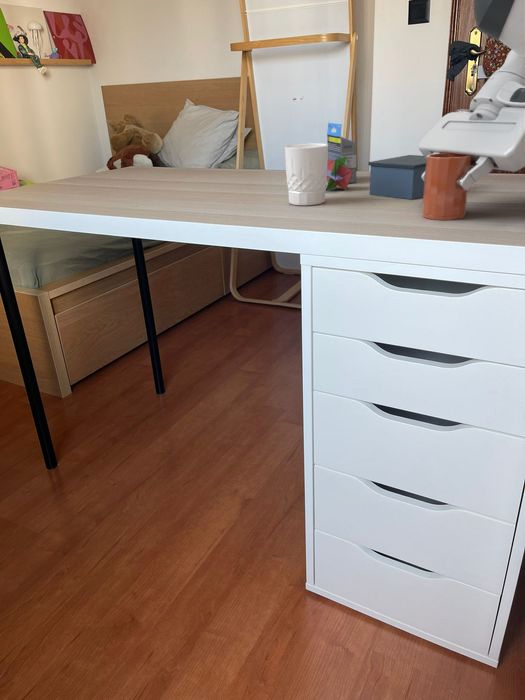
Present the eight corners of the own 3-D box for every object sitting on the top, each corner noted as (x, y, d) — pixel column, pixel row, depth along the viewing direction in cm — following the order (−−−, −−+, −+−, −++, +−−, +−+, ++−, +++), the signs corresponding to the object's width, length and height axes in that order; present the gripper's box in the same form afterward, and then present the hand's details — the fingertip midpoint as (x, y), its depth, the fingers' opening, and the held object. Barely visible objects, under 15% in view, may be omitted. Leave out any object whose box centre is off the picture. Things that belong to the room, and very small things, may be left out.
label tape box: (357, 183, 116) (358, 122, 111) (339, 184, 115) (340, 123, 110) (342, 177, 124) (343, 121, 118) (326, 179, 123) (326, 122, 118)
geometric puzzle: (367, 177, 108) (347, 144, 108) (349, 182, 103) (329, 147, 103) (342, 197, 113) (323, 165, 113) (325, 203, 108) (305, 169, 108)
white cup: (335, 203, 97) (336, 145, 92) (296, 208, 94) (295, 148, 90) (316, 196, 103) (315, 142, 99) (279, 201, 101) (277, 146, 97)
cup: (437, 209, 87) (442, 152, 83) (472, 214, 83) (480, 154, 79) (413, 216, 84) (418, 156, 80) (449, 222, 79) (455, 158, 75)
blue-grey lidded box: (407, 185, 110) (409, 154, 107) (452, 190, 103) (455, 157, 100) (367, 194, 103) (368, 162, 101) (412, 200, 96) (414, 165, 93)
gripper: (444, 95, 87) (391, 164, 88) (549, 92, 70) (482, 177, 71) (462, 123, 90) (411, 188, 91) (567, 126, 73) (503, 207, 74)
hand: (443, 183), depth 81 cm, fingers closed on cup, 6 cm apart
